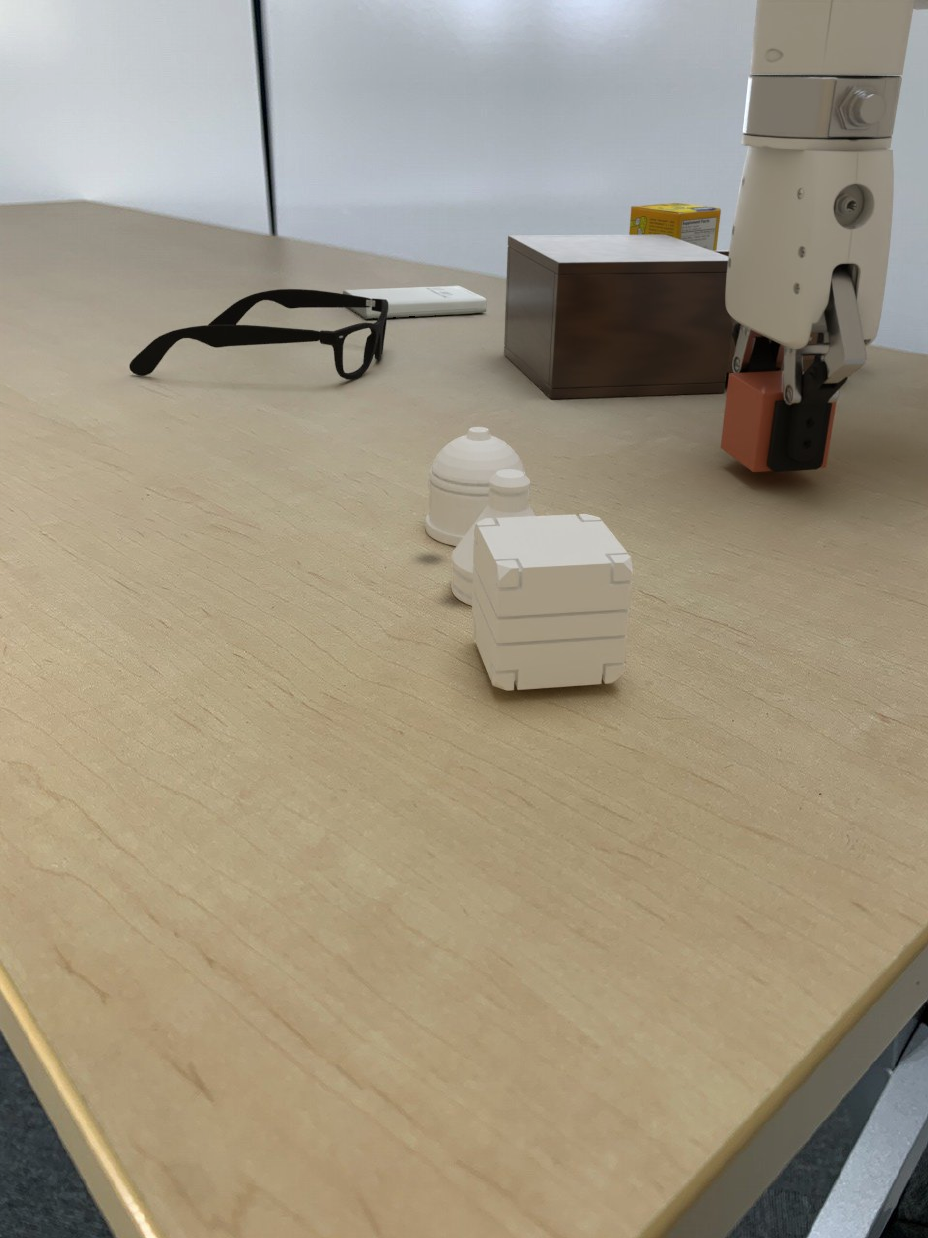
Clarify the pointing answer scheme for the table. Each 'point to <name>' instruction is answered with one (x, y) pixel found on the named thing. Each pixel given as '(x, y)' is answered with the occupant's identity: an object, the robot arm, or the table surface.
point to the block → (755, 417)
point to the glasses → (276, 329)
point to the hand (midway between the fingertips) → (772, 451)
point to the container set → (528, 571)
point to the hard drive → (422, 301)
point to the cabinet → (617, 315)
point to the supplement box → (678, 222)
